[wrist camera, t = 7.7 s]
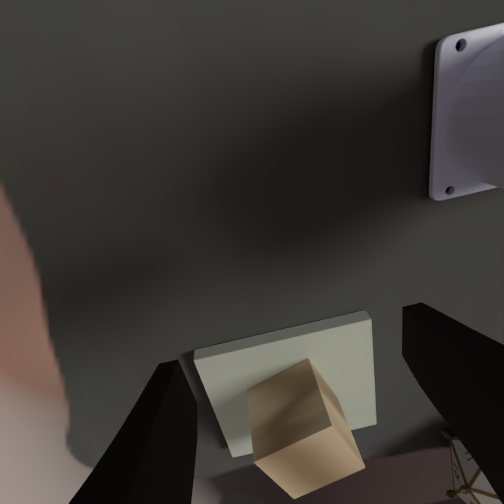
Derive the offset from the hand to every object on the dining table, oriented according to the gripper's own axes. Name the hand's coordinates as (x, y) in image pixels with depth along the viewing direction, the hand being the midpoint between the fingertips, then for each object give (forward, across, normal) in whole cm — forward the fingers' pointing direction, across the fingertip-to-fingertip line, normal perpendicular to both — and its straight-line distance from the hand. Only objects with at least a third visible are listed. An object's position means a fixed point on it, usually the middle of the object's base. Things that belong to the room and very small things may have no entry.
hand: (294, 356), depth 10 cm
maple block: (+8, 0, +12) cm, 15 cm away
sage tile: (+9, 0, +12) cm, 16 cm away
